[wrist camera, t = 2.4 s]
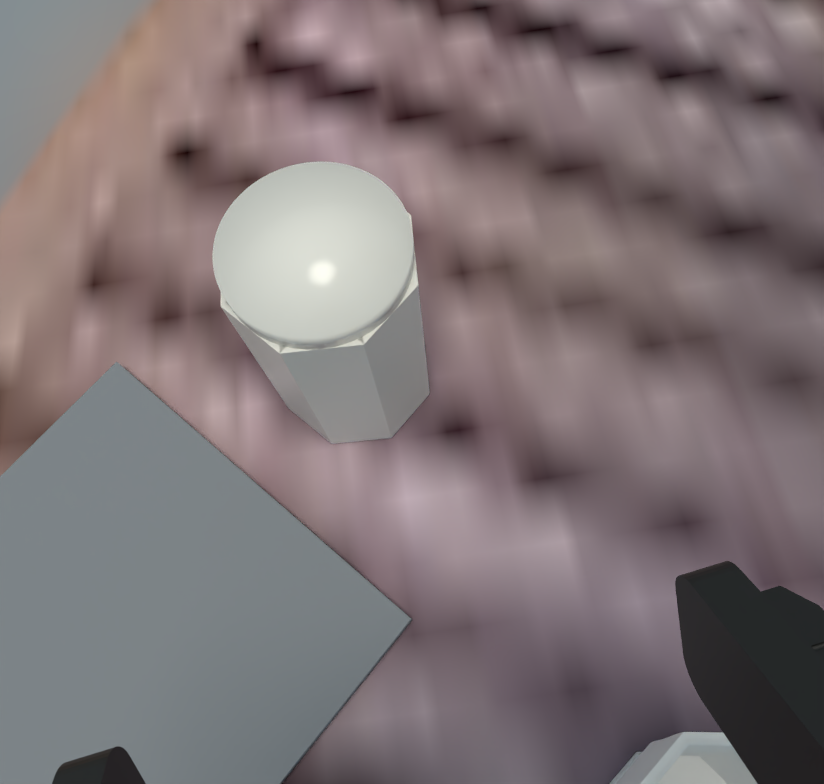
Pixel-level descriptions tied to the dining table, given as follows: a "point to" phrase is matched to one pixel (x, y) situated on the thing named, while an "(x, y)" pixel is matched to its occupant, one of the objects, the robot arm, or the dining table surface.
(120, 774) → the robot arm
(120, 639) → the rubber mat
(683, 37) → the dining table surface
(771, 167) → the dining table surface
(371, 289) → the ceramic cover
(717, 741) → the cup
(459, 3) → the dining table surface
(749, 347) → the dining table surface
